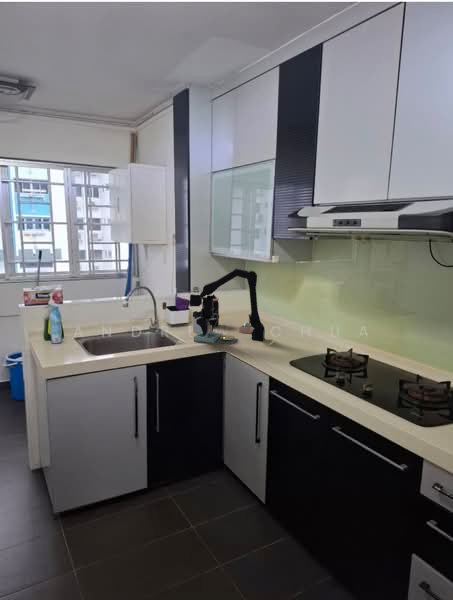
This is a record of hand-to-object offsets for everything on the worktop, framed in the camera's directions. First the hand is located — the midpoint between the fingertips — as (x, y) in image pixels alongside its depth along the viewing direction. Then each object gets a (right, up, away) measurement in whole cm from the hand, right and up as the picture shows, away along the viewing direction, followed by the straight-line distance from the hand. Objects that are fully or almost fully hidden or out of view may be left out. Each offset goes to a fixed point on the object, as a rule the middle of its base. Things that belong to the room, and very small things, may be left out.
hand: (208, 333), depth 226 cm
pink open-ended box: (+23, -1, +18) cm, 29 cm away
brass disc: (+11, -3, -2) cm, 11 cm away
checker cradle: (+11, -4, -2) cm, 12 cm away
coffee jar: (0, +2, +36) cm, 36 cm away
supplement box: (-5, -1, +19) cm, 19 cm away
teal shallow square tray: (0, -4, +1) cm, 4 cm away
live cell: (0, -3, 0) cm, 3 cm away
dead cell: (+23, 0, +18) cm, 29 cm away
